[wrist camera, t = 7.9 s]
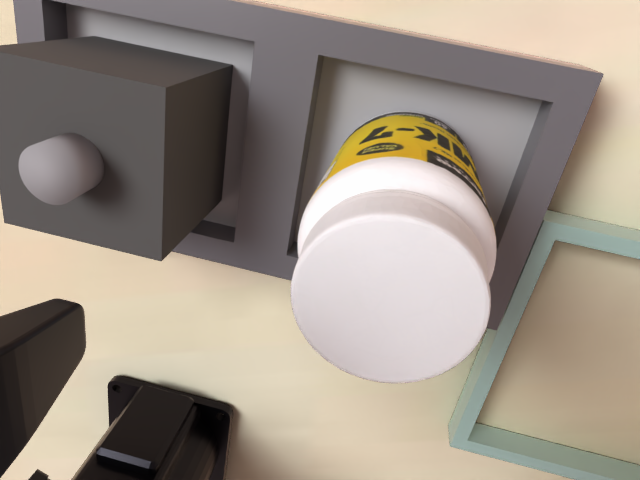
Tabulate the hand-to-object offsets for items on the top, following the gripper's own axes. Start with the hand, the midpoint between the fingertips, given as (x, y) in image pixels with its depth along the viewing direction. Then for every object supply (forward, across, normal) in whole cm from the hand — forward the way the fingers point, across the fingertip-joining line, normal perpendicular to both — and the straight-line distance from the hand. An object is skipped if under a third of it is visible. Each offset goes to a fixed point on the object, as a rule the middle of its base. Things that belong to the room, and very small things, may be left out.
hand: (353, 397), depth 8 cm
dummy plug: (+12, +8, 0) cm, 15 cm away
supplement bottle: (+11, 0, 0) cm, 11 cm away
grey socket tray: (+12, +4, 0) cm, 13 cm away
